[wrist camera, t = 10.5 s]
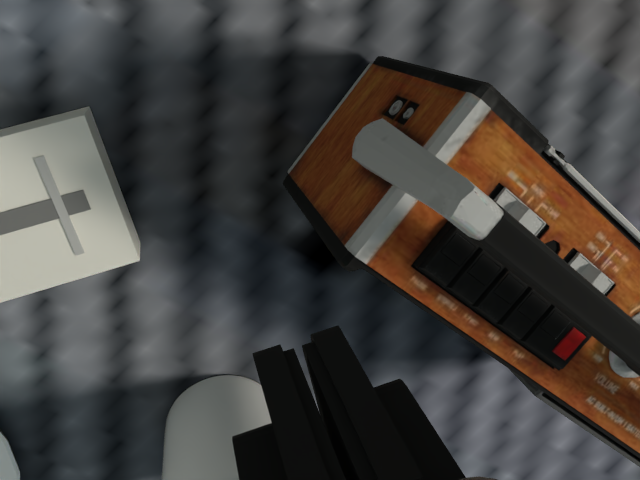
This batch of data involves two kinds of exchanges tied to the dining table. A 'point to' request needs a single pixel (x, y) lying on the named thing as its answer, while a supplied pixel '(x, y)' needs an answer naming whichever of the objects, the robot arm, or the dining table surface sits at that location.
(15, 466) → the plate
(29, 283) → the fader console
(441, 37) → the dining table surface
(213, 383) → the candle holder
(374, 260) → the radio cassette player
